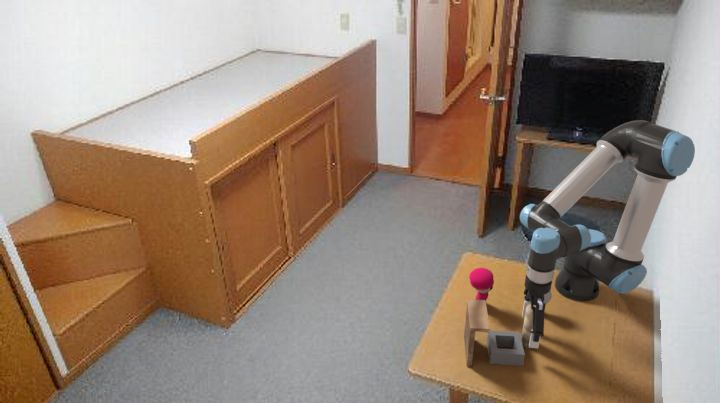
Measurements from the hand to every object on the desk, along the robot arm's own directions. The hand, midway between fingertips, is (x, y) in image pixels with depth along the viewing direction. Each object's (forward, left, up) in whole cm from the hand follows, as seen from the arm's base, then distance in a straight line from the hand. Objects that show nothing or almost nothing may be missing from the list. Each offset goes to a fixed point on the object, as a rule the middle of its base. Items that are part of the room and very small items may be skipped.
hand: (529, 331), depth 171 cm
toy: (+14, -17, -5) cm, 23 cm away
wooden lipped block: (+18, +5, -5) cm, 19 cm away
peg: (0, 0, -5) cm, 5 cm away
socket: (+8, +5, -5) cm, 11 cm away
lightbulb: (-6, -15, -5) cm, 17 cm away
